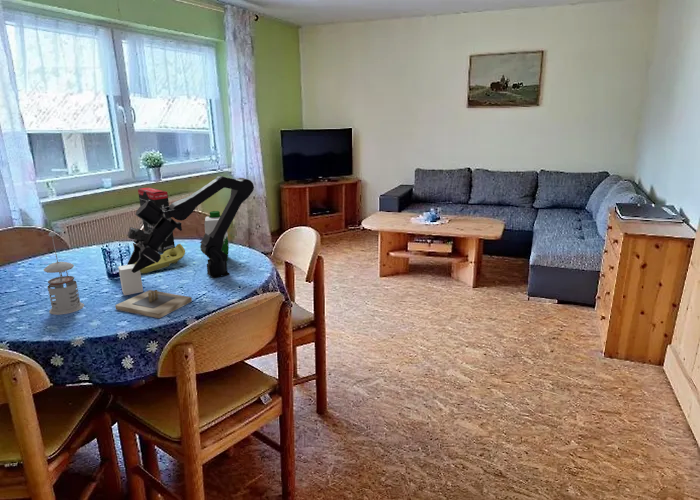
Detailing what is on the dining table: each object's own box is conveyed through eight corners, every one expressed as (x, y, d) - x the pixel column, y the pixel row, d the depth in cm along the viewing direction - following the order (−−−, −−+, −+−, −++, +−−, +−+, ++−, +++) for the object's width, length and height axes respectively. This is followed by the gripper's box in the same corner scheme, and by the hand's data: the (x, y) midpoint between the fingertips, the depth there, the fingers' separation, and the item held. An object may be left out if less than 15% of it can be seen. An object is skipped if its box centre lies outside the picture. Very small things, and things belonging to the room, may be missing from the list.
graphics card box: (176, 250, 211) (169, 190, 203) (161, 253, 206) (153, 192, 198) (159, 243, 222) (151, 186, 214) (144, 246, 217) (136, 188, 210)
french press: (46, 316, 142) (29, 237, 135) (52, 303, 152) (36, 229, 145) (82, 311, 146) (68, 233, 139) (86, 298, 156) (72, 225, 149)
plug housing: (140, 287, 165) (137, 263, 163) (143, 291, 161) (139, 267, 159) (122, 291, 162) (118, 266, 160) (124, 295, 158) (120, 270, 156)
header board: (150, 294, 159) (148, 281, 158) (191, 301, 152) (190, 288, 151) (115, 309, 147) (113, 295, 145) (159, 318, 140) (157, 303, 138)
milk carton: (229, 255, 201) (225, 210, 195) (229, 262, 192) (225, 214, 187) (208, 257, 199) (203, 211, 193) (207, 263, 191) (202, 215, 185)
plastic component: (139, 269, 178) (129, 253, 183) (140, 283, 182) (130, 267, 188) (189, 255, 190) (178, 241, 195) (189, 268, 194) (178, 254, 199)
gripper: (136, 214, 165) (106, 248, 163) (145, 223, 150) (113, 262, 148) (162, 232, 172) (133, 266, 169) (173, 243, 156) (142, 281, 154)
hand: (130, 268), depth 160 cm, fingers open, 9 cm apart
